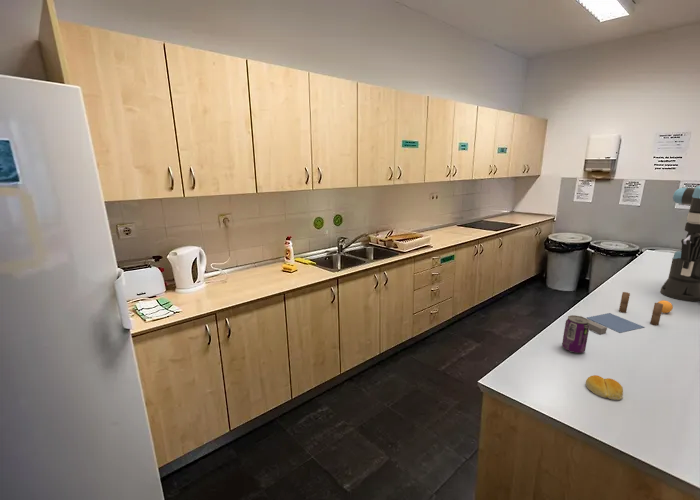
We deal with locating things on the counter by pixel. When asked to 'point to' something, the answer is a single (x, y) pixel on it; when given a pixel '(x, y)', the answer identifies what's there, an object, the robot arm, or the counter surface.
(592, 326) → the stopper
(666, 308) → the ball
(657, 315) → the post
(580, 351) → the beverage can
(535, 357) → the counter surface
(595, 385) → the bread roll
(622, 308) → the post
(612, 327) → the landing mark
